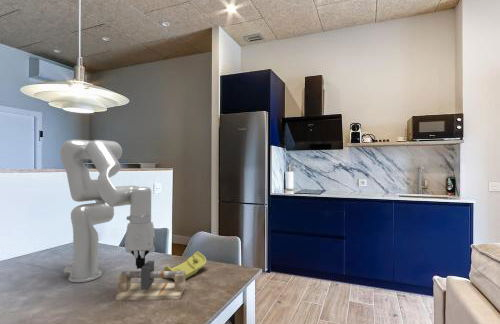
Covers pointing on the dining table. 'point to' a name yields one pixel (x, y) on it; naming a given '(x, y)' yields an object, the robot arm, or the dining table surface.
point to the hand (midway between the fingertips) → (140, 267)
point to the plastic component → (190, 265)
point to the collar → (147, 275)
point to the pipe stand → (155, 290)
